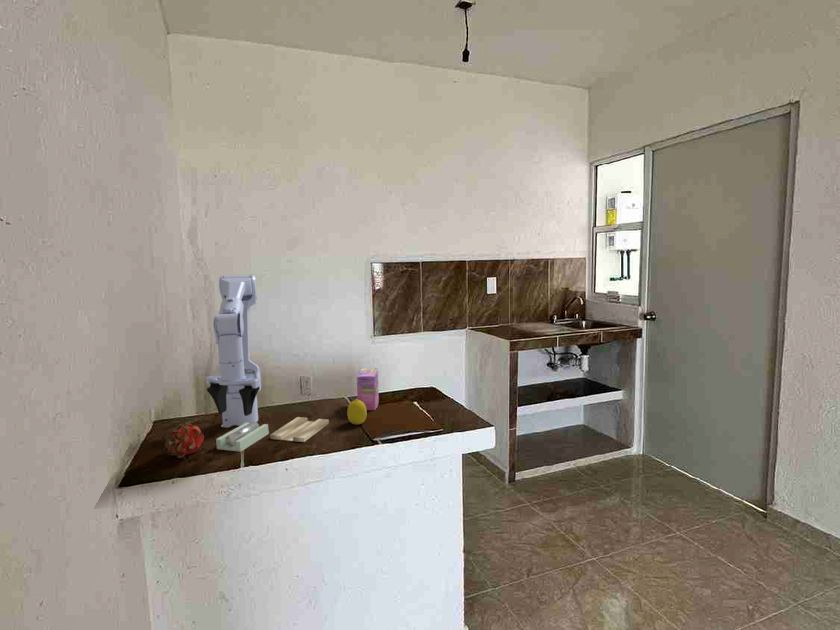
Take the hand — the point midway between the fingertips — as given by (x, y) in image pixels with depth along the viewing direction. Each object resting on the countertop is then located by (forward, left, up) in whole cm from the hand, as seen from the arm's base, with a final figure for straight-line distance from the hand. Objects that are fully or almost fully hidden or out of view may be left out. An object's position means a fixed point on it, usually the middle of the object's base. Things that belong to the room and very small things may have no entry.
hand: (235, 413), depth 120 cm
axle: (0, +2, -8) cm, 8 cm away
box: (+21, +38, -10) cm, 44 cm away
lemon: (+24, +22, -10) cm, 34 cm away
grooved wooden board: (+11, +13, -9) cm, 19 cm away
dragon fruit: (-11, -6, -10) cm, 16 cm away
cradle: (0, +3, -9) cm, 10 cm away
